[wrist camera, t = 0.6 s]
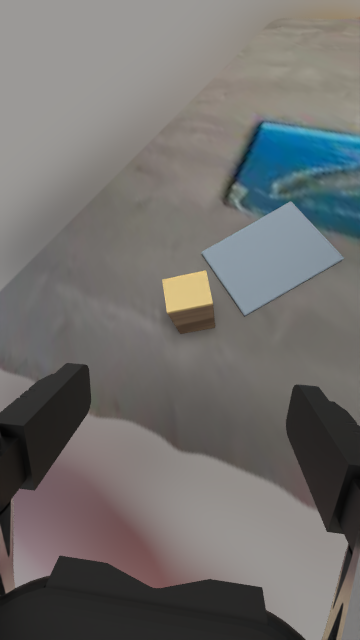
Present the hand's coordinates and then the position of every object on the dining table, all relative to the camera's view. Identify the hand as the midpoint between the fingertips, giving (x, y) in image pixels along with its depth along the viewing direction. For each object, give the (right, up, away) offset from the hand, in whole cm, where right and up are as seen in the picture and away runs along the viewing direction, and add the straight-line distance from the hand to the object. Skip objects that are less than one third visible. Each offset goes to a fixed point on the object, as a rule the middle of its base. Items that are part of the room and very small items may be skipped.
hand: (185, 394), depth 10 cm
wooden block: (+2, +3, +27) cm, 27 cm away
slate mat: (+13, +12, +28) cm, 33 cm away
